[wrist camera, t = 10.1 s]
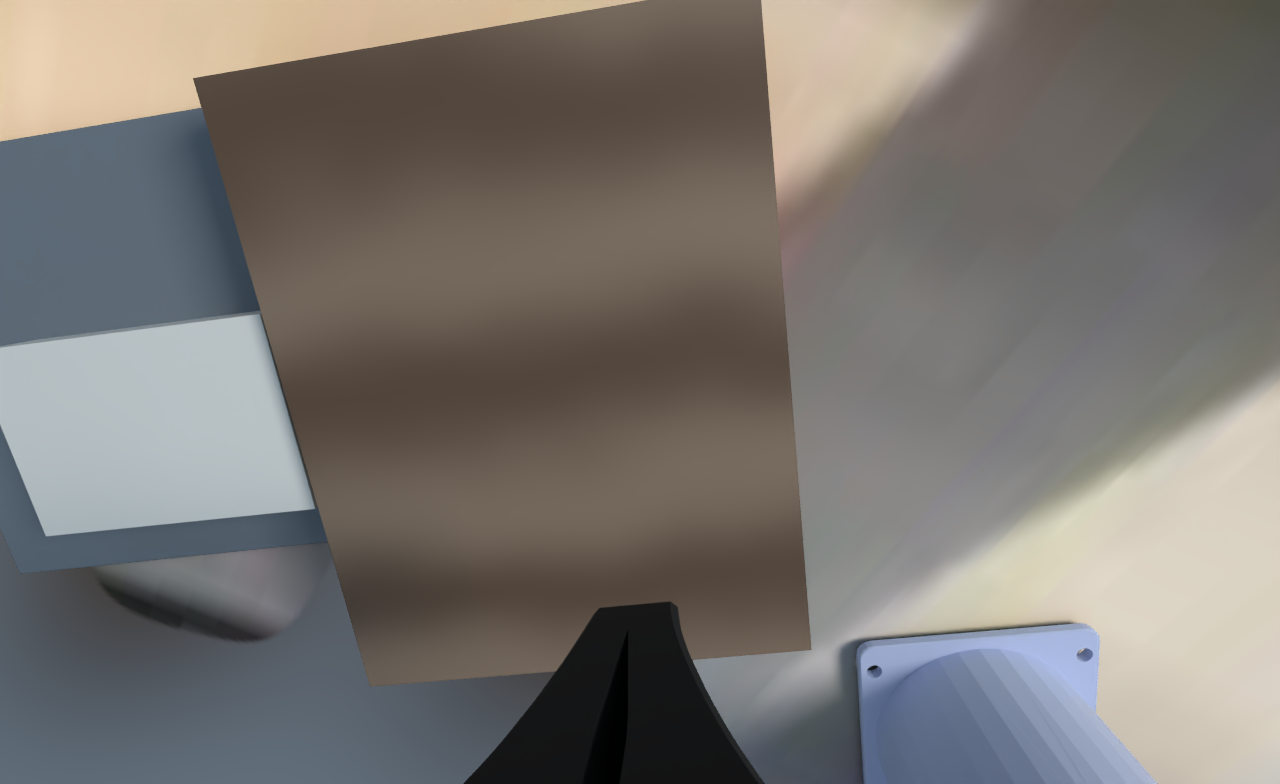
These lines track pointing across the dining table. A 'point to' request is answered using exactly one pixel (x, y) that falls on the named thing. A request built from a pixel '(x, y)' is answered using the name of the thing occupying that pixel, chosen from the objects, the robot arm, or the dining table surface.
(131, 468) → the pale grey flat block
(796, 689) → the dining table surface
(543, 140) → the deck
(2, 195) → the mat
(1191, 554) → the dining table surface
